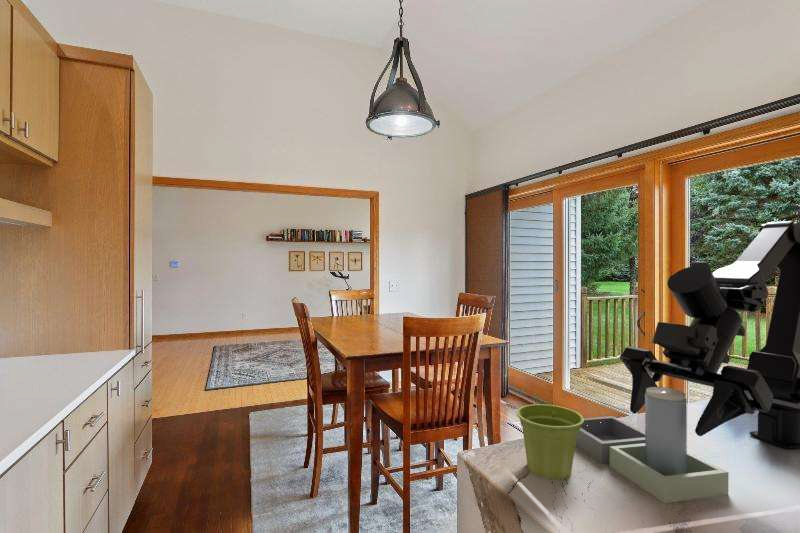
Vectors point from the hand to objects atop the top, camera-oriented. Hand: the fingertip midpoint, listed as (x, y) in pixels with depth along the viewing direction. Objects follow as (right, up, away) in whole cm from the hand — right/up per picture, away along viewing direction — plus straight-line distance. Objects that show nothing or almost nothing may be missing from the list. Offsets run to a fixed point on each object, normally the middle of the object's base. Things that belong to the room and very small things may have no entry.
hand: (662, 422), depth 60 cm
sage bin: (+1, -9, 0) cm, 9 cm away
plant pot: (-15, -9, +3) cm, 18 cm away
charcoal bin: (-2, -9, +11) cm, 14 cm away
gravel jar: (+1, -8, 0) cm, 8 cm away
